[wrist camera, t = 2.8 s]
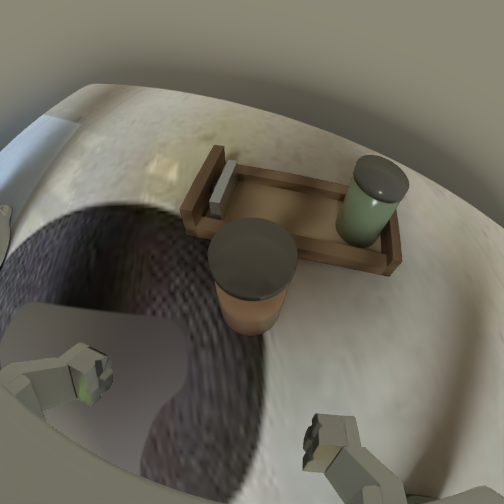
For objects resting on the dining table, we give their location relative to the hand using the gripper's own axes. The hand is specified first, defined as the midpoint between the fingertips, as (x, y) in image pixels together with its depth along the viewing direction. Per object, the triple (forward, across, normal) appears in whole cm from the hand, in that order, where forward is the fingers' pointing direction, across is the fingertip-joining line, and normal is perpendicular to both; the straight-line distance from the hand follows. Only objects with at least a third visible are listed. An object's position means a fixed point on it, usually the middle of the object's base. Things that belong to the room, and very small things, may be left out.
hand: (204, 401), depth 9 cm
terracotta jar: (+14, 0, +2) cm, 15 cm away
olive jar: (+22, -9, -6) cm, 25 cm away
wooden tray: (+22, -2, -5) cm, 23 cm away
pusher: (+22, +6, -6) cm, 23 cm away
